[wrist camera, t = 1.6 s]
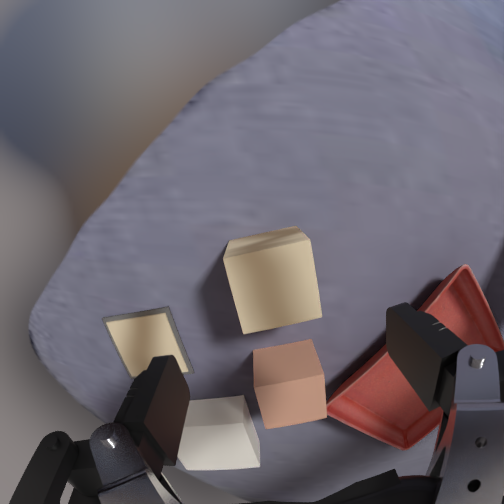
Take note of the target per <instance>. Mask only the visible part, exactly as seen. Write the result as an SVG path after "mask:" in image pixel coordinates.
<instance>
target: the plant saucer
mask: <svg viewBox="0 0 504 504" xmlns="http://www.w3.org/2000/svg"><path fill="white" fill-rule="evenodd" d="M417 311H423V312H426V313H429V314H431V315H433V316H434V317H435V318H436V319H437V320H439V322H440V323H442V324H443V325H445V326H446V328H448V329H449V330H451V331H452V332H453V333H454V334H455V335H456V336H458V337H459V338H460V339H461V340H462V341H463V342H465V343H466V344H467V345H472V344H481V345H485V346H488V347H490V348H491V349H492V350H494V352H498V351H501V350H504V340H503V338H502V335H501V333H500V330H499V327H498V325H497V323H496V321H495V318H494V316H493V313H492V311H491V309H490V307H489V305H488V302H487V300H486V298H485V296H484V294H483V292H482V290H481V288H480V286H479V284H478V282H477V280H476V278H475V276H474V274H473V273H472V270H471V268H470V267H469V266H468V265H467V264H464V265H462V266H460V267H458V268H457V269H455V270H454V271H453V272H452V273H450V274H449V275H448V276H447V277H446V278H445V279H444V280H443V281H442V282H441V283H440V284H439V285H438V286H437V288H436V289H435V290H434V291H433V293H432V294H431V295H430V296H429V297H428V299H427V300H426V301H425V302H424V303H423V305H422V306H421V307H420V308H419V309H418V310H417ZM326 409H327V415H329V416H331V417H333V418H335V419H337V420H339V421H340V422H342V423H344V424H346V425H349V426H350V427H353V428H355V429H357V430H359V431H361V432H363V433H365V434H367V435H369V436H371V437H373V438H376V439H377V440H380V441H382V442H384V443H387V444H389V445H391V446H393V447H396V448H398V449H400V450H408V449H409V448H411V447H412V446H414V445H415V444H416V443H418V442H419V441H420V440H421V439H423V438H424V437H425V436H426V435H428V434H429V433H430V432H431V431H432V430H434V429H435V428H436V427H437V426H438V425H439V424H440V420H441V415H442V412H443V410H442V408H441V407H438V408H436V409H434V410H432V411H430V412H429V411H428V409H427V408H426V406H425V405H424V403H423V402H422V401H421V399H420V398H419V396H418V395H417V393H416V392H415V391H414V389H413V388H412V386H411V385H410V384H409V382H408V381H407V380H406V378H405V377H404V375H403V374H402V373H401V371H400V370H399V368H398V367H397V366H396V364H395V363H394V362H393V360H392V359H391V358H390V356H389V354H388V351H387V347H386V344H385V345H384V346H383V347H382V348H381V349H380V350H379V351H378V352H377V353H376V354H375V355H374V356H373V357H372V358H371V359H369V360H368V361H367V362H366V363H365V364H364V365H363V366H362V367H361V368H360V369H358V370H357V371H356V372H355V373H354V374H353V375H352V376H350V377H349V378H348V379H347V380H346V381H345V382H344V383H343V384H342V385H341V386H340V387H339V388H338V389H337V390H336V391H335V392H334V393H333V394H332V396H331V397H330V398H329V400H328V401H327V402H326Z"/></svg>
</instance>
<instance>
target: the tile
mask: <svg viewBox="0 0 504 504" xmlns="http://www.w3.org/2000/svg"><path fill="white" fill-rule="evenodd" d="M102 320H103V322H104V324H105V327H106V329H107V331H108V334H109V336H110V338H111V340H112V342H113V344H114V347H115V349H116V351H117V353H118V355H119V357H120V359H121V361H122V363H123V365H124V367H125V369H126V371H127V373H128V374H129V376H130V378H131V379H134V378H136V377H137V376H138V375H139V374H140V373H141V372H142V371H143V370H147V368H148V366H149V364H150V362H151V360H152V358H153V357H155V356H164V355H174V357H175V358H176V360H177V362H178V365H179V367H180V369H181V371H182V374H183V375H184V374H193V373H194V370H193V367H192V365H191V363H190V360H189V358H188V355H187V353H186V350H185V348H184V345H183V343H182V340H181V338H180V335H179V333H178V330H177V327H176V325H175V322H174V319H173V316H172V314H171V311H170V308H169V306H168V307H163V308H157V309H152V310H146V311H140V312H134V313H128V314H122V315H116V316H110V317H104V318H102Z"/></svg>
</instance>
